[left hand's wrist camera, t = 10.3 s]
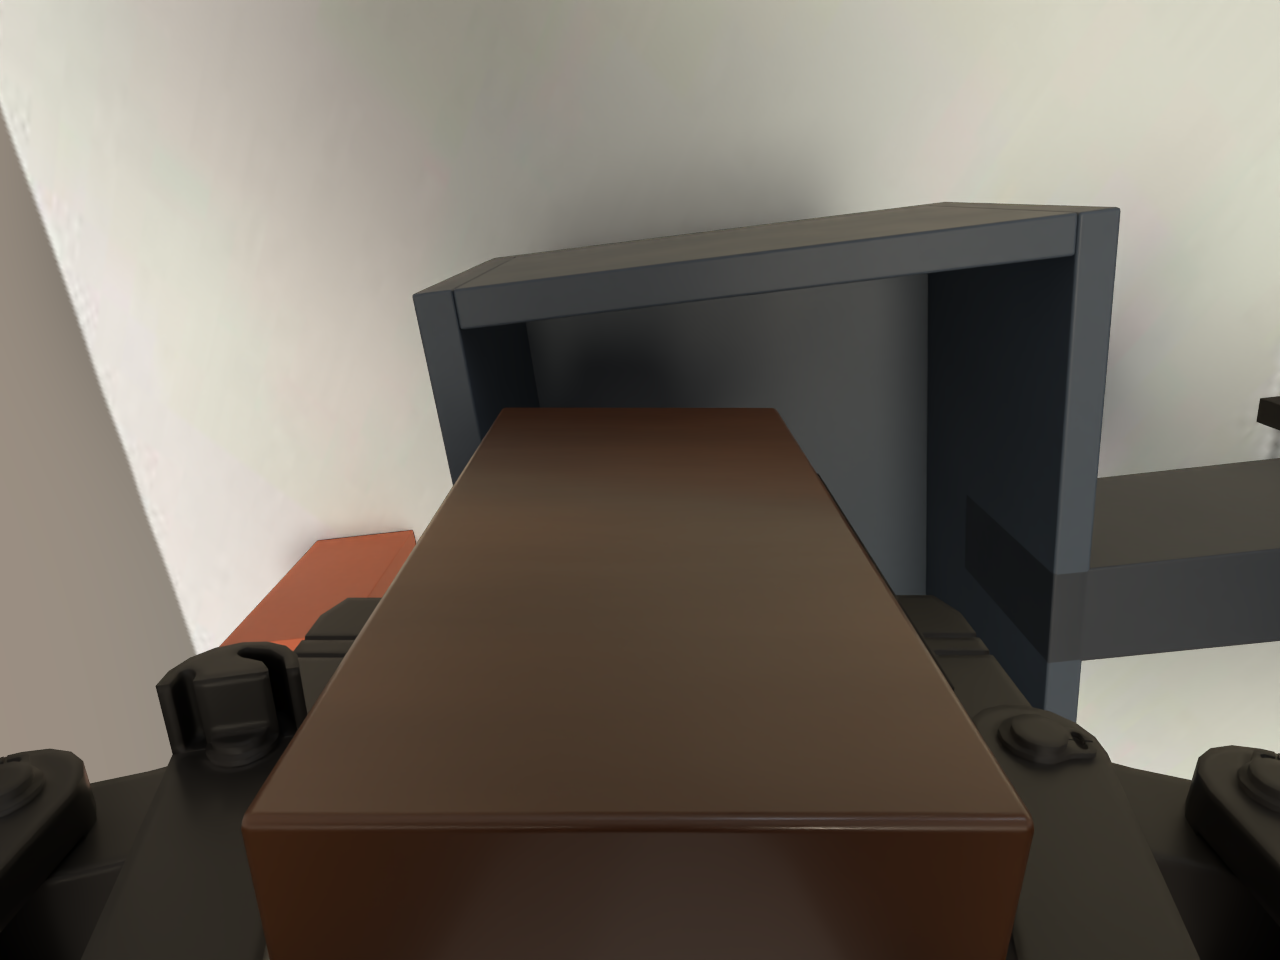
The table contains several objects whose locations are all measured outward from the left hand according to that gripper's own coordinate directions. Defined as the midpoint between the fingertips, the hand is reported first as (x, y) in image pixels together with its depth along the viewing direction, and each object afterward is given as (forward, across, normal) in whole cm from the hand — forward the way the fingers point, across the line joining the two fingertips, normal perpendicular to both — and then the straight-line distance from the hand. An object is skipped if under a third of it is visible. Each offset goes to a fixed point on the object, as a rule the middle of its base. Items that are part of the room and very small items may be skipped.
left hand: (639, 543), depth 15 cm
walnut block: (+1, 0, 0) cm, 1 cm away
